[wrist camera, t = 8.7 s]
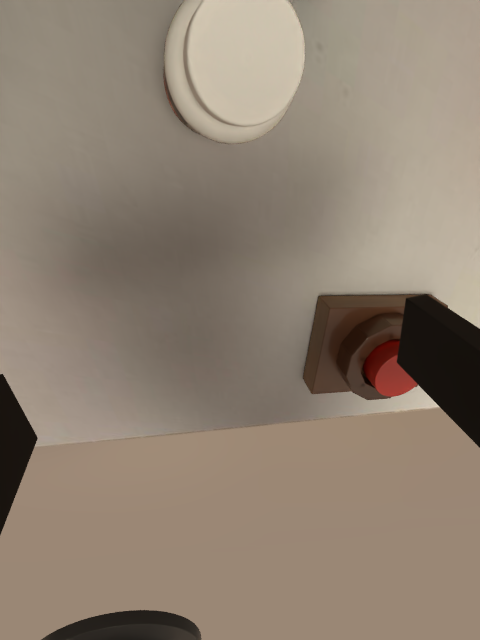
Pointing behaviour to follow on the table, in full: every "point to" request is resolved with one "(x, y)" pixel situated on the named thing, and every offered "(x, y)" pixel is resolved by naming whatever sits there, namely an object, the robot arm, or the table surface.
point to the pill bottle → (233, 66)
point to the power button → (387, 370)
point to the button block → (350, 341)
